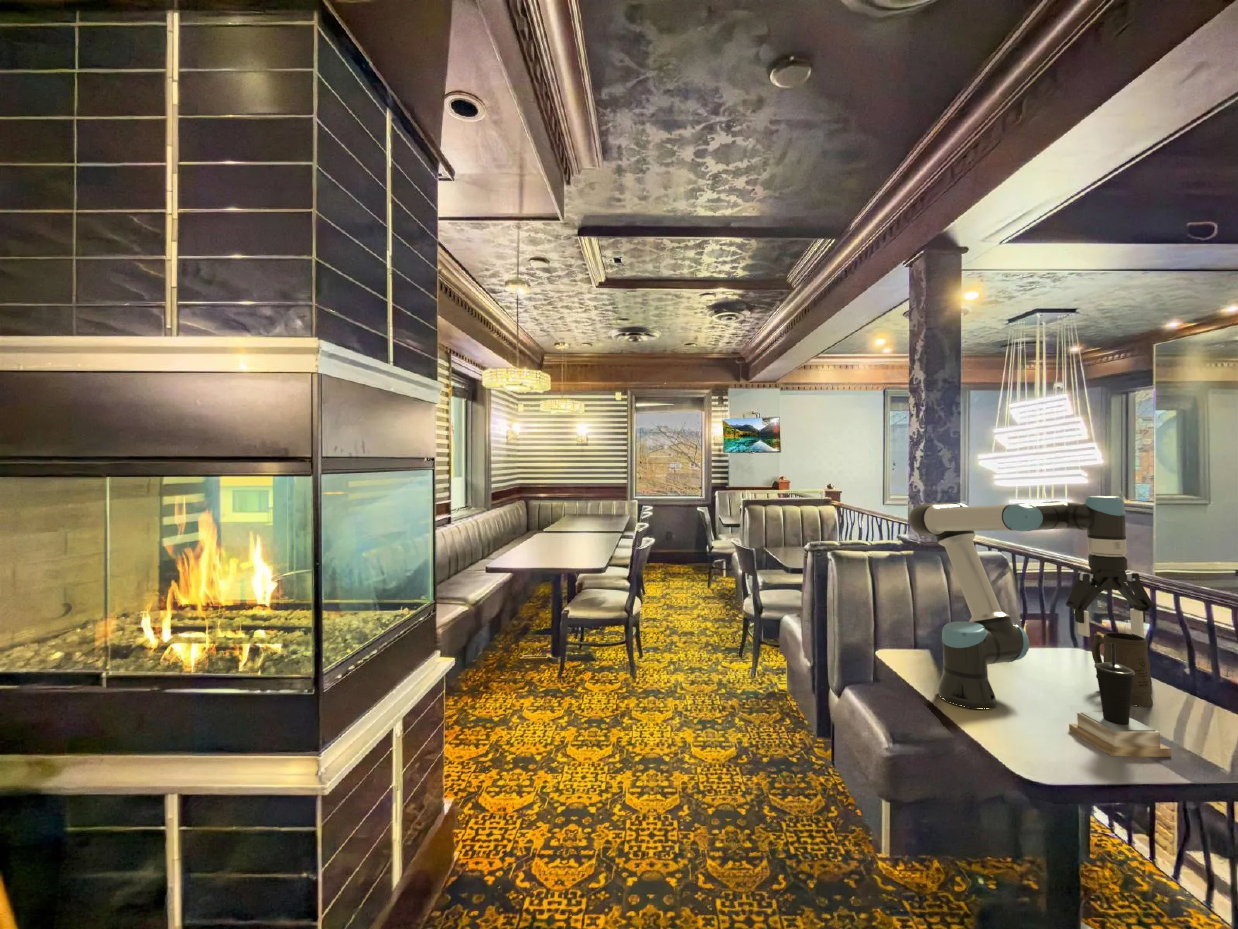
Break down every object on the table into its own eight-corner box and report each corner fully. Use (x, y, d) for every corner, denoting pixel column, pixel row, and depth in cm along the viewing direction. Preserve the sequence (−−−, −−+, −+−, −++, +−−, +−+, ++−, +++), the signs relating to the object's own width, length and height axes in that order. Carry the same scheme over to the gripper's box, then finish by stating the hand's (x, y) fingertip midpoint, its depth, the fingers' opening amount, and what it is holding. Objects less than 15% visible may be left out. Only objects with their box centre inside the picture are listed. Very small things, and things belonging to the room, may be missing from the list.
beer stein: (1165, 705, 155) (1155, 637, 157) (1141, 710, 152) (1132, 641, 154) (1105, 689, 170) (1097, 627, 172) (1082, 693, 167) (1074, 630, 169)
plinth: (1112, 756, 128) (1111, 733, 128) (1069, 731, 141) (1068, 709, 141) (1171, 756, 128) (1169, 733, 128) (1122, 731, 140) (1121, 709, 141)
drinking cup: (1129, 730, 129) (1126, 650, 130) (1091, 718, 136) (1087, 642, 137) (1142, 723, 133) (1138, 645, 134) (1103, 711, 140) (1100, 637, 140)
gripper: (1070, 557, 133) (1073, 639, 132) (1171, 556, 132) (1174, 639, 131) (1047, 552, 140) (1050, 630, 140) (1142, 551, 139) (1146, 630, 139)
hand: (1110, 635), depth 136 cm, fingers open, 13 cm apart
